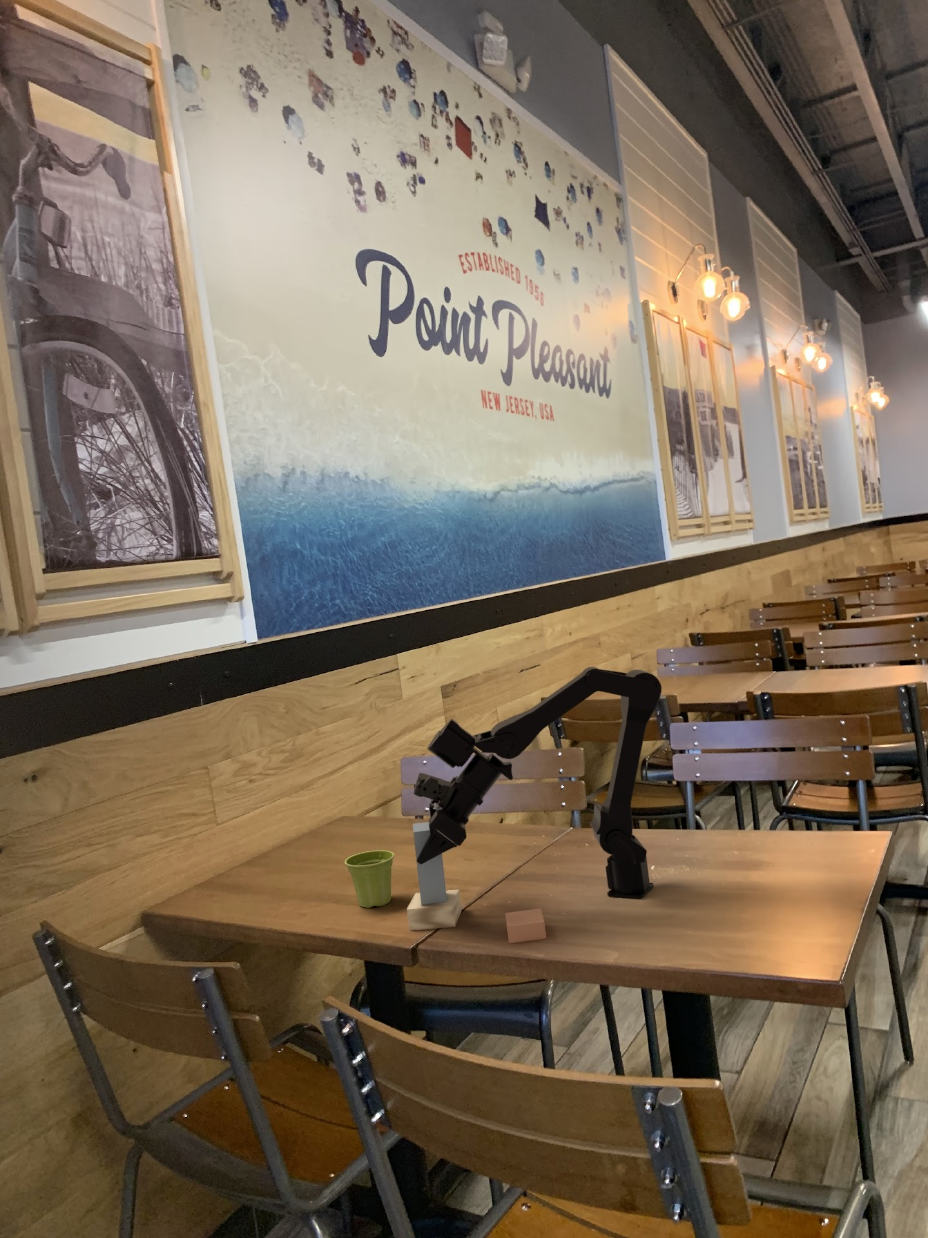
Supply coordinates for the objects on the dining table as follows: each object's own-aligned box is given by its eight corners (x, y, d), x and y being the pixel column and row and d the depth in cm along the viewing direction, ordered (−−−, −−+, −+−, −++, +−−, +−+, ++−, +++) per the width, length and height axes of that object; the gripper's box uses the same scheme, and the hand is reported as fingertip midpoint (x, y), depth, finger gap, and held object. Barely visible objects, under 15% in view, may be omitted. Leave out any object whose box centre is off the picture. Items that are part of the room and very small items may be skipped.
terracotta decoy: (543, 926, 153) (540, 908, 153) (546, 940, 147) (544, 922, 147) (507, 930, 153) (505, 913, 153) (509, 945, 147) (506, 926, 147)
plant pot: (375, 891, 182) (369, 848, 182) (410, 896, 176) (404, 852, 176) (340, 908, 175) (334, 863, 174) (375, 914, 169) (369, 868, 168)
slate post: (445, 891, 164) (438, 820, 163) (447, 901, 160) (439, 829, 158) (420, 895, 164) (412, 823, 163) (421, 905, 159) (413, 832, 158)
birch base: (462, 911, 165) (459, 889, 165) (455, 928, 158) (452, 906, 157) (418, 914, 167) (415, 893, 166) (409, 932, 159) (406, 909, 159)
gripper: (436, 746, 170) (385, 814, 171) (436, 766, 152) (378, 842, 152) (484, 783, 171) (433, 850, 171) (490, 807, 152) (432, 882, 152)
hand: (419, 854), depth 162 cm, fingers open, 9 cm apart
